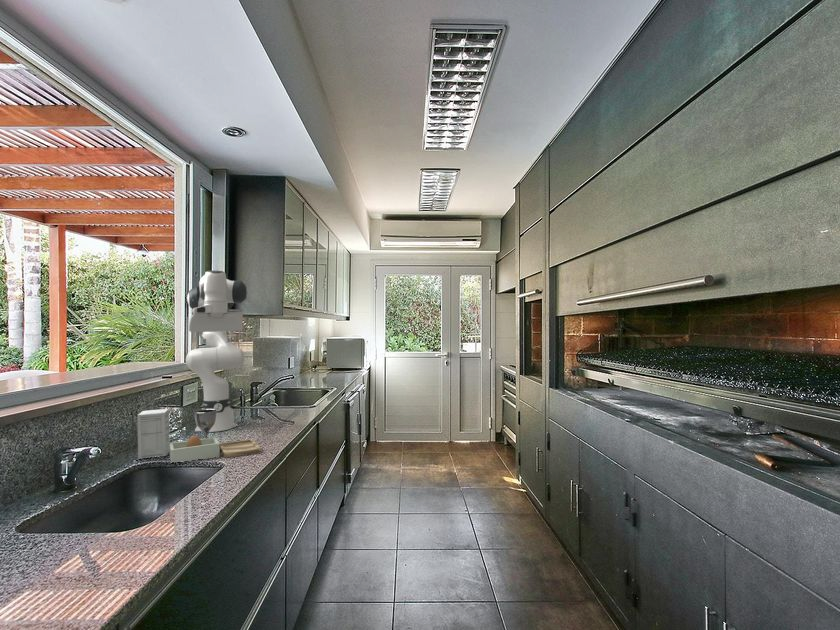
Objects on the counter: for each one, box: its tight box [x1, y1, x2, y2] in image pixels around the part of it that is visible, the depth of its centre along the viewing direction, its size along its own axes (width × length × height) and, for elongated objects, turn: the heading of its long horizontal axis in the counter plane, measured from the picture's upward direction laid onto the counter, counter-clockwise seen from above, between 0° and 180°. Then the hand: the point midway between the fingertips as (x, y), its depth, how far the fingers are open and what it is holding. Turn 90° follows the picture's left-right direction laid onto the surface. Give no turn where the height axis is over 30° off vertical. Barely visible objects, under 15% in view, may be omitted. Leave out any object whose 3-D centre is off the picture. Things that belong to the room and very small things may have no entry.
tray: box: [219, 438, 262, 459], centre depth 181 cm, size 18×13×2 cm
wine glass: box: [194, 409, 216, 439], centre depth 185 cm, size 8×8×15 cm
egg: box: [187, 435, 202, 447], centre depth 173 cm, size 5×5×8 cm
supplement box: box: [136, 408, 171, 458], centre depth 176 cm, size 10×9×17 cm
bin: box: [169, 436, 221, 464], centre depth 173 cm, size 12×16×5 cm
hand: (216, 342), depth 189 cm, fingers open, 8 cm apart
